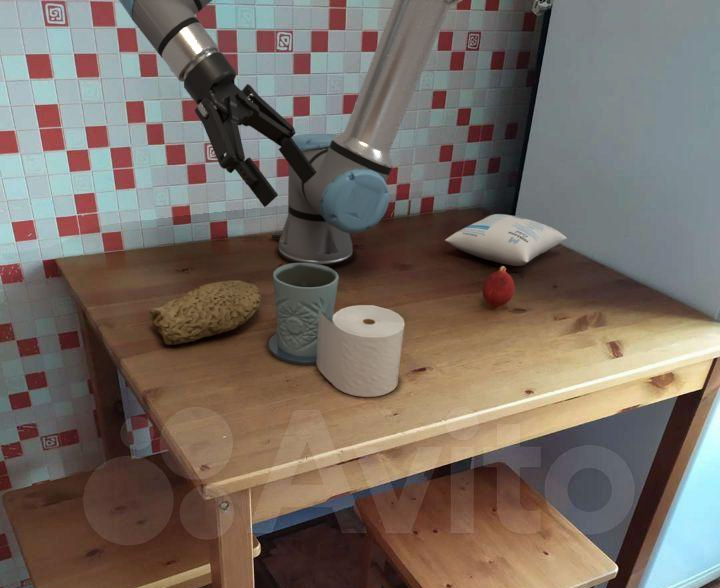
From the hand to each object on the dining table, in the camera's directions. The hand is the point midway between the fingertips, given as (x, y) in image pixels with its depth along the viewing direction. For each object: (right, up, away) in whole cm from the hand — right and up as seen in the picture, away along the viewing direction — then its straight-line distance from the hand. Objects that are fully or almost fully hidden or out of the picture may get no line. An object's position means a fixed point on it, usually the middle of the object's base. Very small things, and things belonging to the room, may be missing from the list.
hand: (291, 189), depth 117 cm
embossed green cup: (+1, -23, +7) cm, 24 cm away
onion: (+36, -13, +25) cm, 46 cm away
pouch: (+42, +3, +47) cm, 63 cm away
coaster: (+1, -23, +7) cm, 24 cm away
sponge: (-15, -19, +10) cm, 26 cm away
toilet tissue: (+10, -30, 0) cm, 31 cm away
